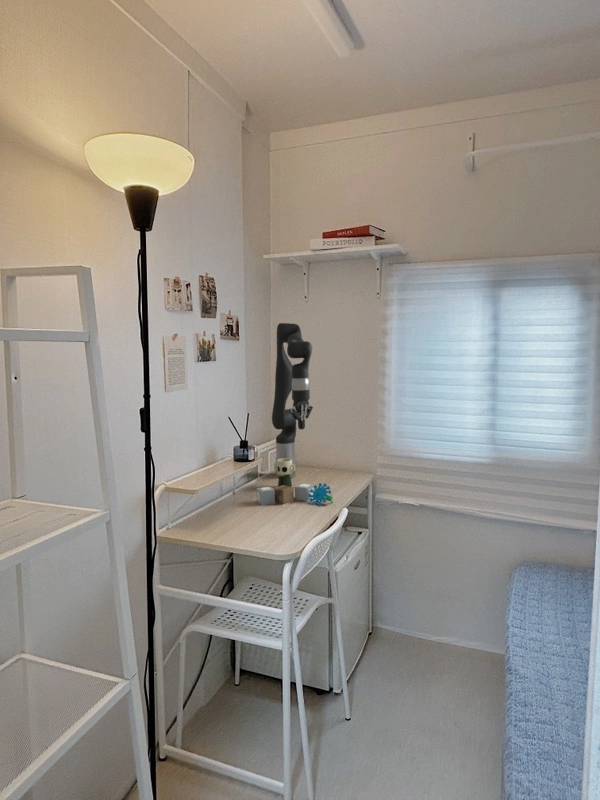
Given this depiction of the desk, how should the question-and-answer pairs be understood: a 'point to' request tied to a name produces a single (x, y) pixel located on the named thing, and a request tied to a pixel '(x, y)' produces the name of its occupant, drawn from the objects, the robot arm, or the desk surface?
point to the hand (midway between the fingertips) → (301, 429)
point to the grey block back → (303, 491)
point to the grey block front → (265, 495)
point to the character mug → (284, 471)
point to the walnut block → (284, 494)
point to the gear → (320, 494)
